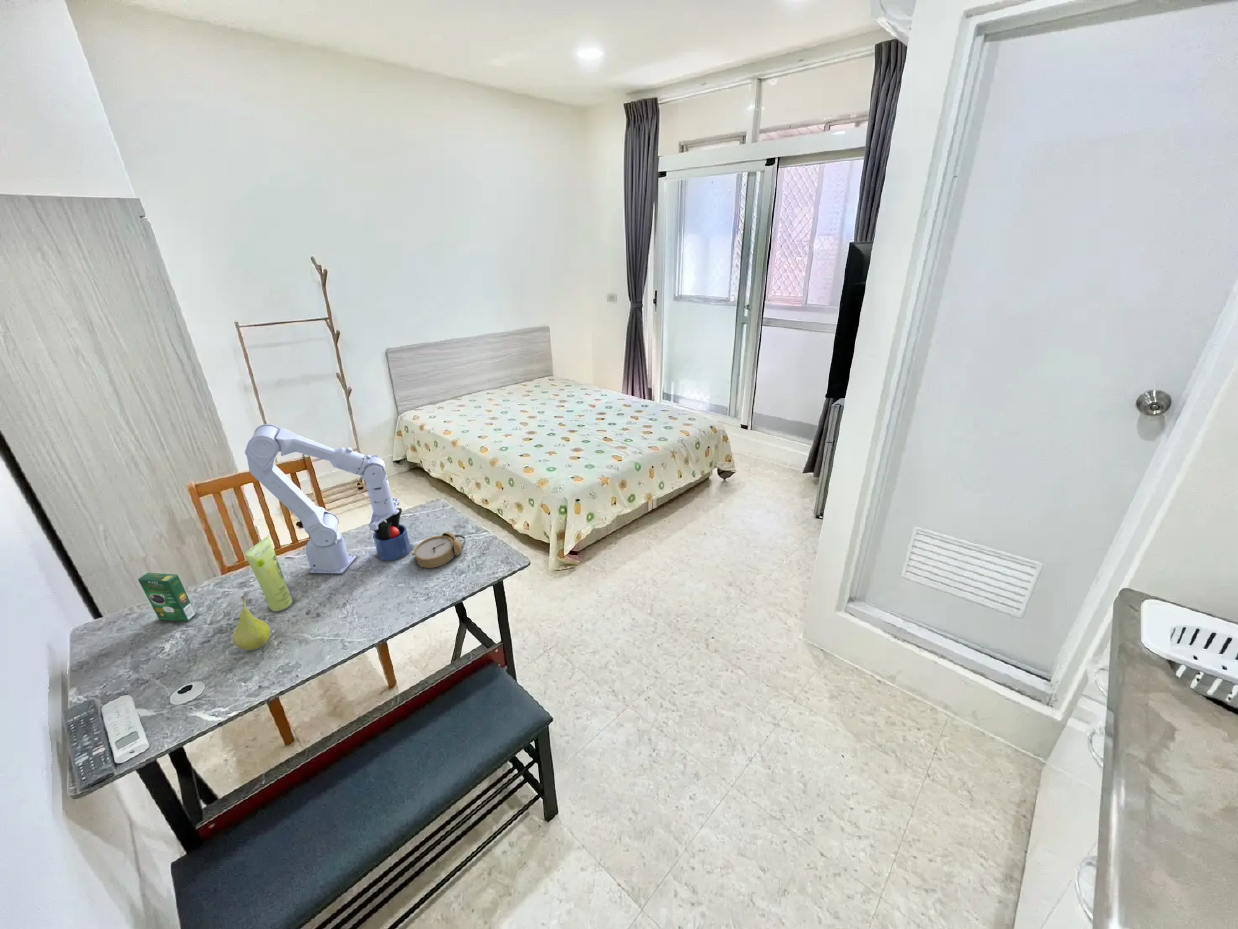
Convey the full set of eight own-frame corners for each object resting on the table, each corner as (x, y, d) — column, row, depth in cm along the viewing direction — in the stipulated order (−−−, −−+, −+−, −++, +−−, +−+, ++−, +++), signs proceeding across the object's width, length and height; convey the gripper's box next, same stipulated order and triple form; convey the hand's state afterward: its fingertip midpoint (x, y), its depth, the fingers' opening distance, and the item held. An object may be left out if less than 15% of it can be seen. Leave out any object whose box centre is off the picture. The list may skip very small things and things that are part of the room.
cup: (372, 560, 143) (367, 540, 140) (386, 542, 151) (382, 523, 148) (402, 561, 142) (397, 541, 139) (415, 543, 151) (411, 524, 148)
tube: (293, 608, 125) (269, 545, 116) (270, 616, 122) (243, 553, 114) (292, 595, 129) (269, 534, 120) (270, 603, 127) (244, 541, 118)
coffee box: (199, 614, 123) (178, 573, 117) (189, 622, 120) (167, 580, 115) (169, 612, 123) (147, 571, 118) (158, 621, 121) (135, 579, 115)
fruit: (237, 661, 109) (218, 621, 104) (241, 639, 115) (223, 600, 110) (272, 649, 112) (255, 610, 107) (275, 629, 118) (258, 590, 113)
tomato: (380, 546, 143) (375, 529, 140) (388, 536, 147) (383, 519, 145) (396, 546, 143) (392, 529, 140) (404, 536, 147) (400, 520, 145)
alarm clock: (407, 547, 143) (454, 522, 151) (413, 559, 146) (459, 534, 153) (421, 565, 136) (469, 538, 143) (427, 578, 138) (474, 550, 146)
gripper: (382, 511, 132) (393, 551, 138) (405, 485, 145) (414, 524, 151) (357, 510, 132) (368, 551, 138) (382, 485, 145) (392, 523, 151)
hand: (391, 537), depth 144 cm, fingers closed on tomato, 5 cm apart
